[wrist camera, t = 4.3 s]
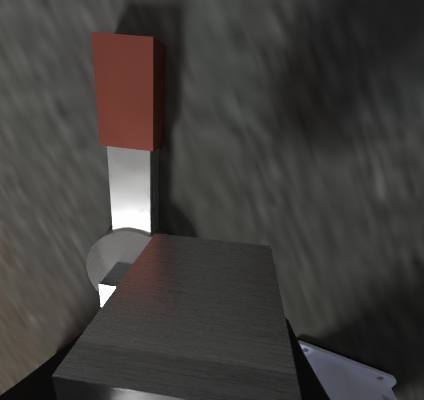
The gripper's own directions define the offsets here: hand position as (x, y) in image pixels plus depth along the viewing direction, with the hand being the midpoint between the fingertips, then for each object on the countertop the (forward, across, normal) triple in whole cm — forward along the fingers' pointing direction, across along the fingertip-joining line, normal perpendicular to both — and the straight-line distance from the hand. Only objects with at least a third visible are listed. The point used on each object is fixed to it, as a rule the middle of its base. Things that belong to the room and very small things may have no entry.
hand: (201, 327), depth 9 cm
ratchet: (+10, +6, -1) cm, 12 cm away
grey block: (+2, 0, 0) cm, 2 cm away
